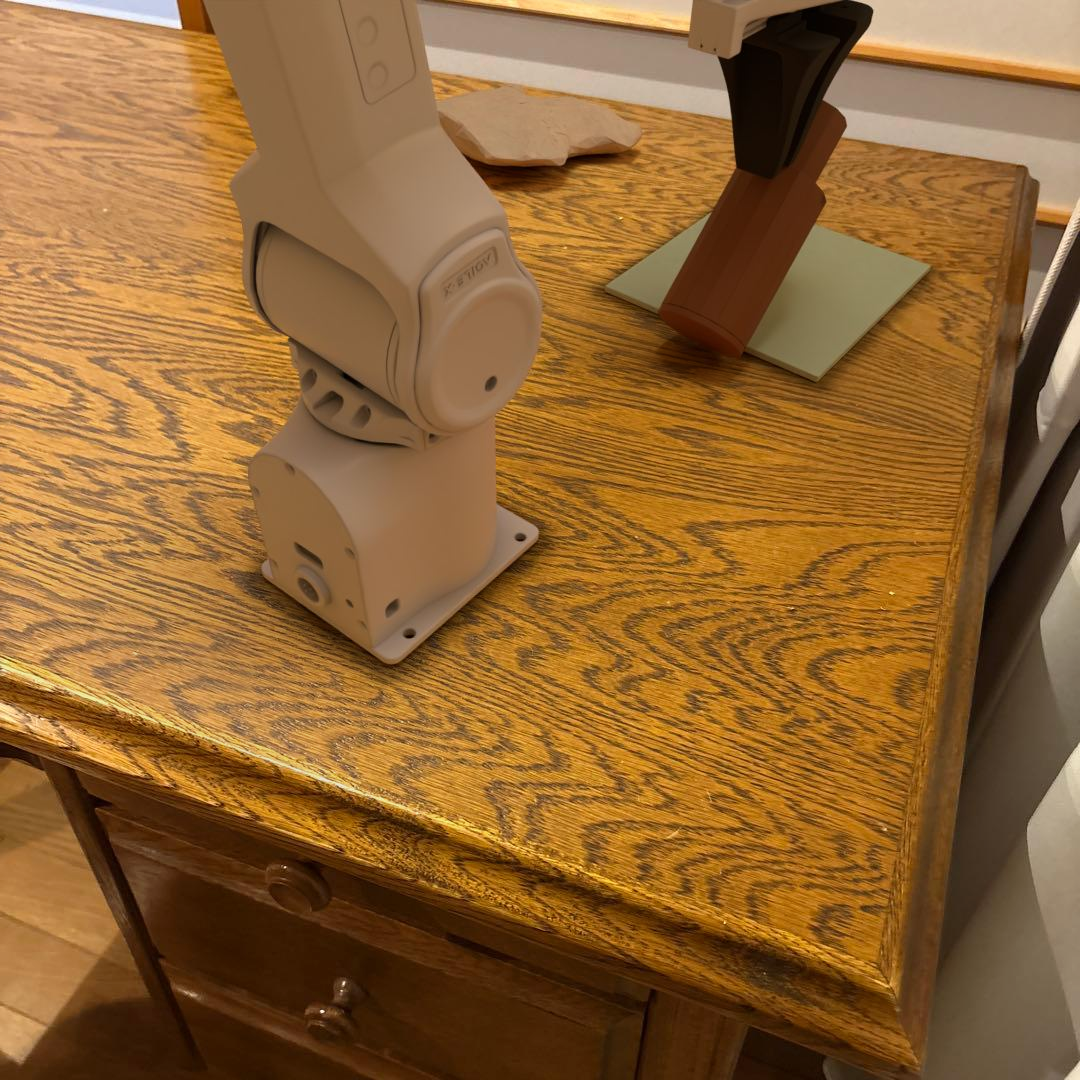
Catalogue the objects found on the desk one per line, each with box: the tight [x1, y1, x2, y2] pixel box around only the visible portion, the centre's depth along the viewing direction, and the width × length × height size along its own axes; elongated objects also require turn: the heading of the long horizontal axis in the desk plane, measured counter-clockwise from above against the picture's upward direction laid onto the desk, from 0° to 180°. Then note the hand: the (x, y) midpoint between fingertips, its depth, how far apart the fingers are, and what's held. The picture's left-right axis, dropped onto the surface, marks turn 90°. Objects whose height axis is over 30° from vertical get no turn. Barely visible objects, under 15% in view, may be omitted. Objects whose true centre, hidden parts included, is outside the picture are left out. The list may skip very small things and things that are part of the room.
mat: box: [604, 212, 932, 383], centre depth 60 cm, size 15×14×1 cm
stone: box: [435, 83, 644, 168], centre depth 71 cm, size 14×4×15 cm
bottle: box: [657, 99, 848, 358], centre depth 52 cm, size 5×5×13 cm
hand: (764, 165), depth 49 cm, fingers closed
